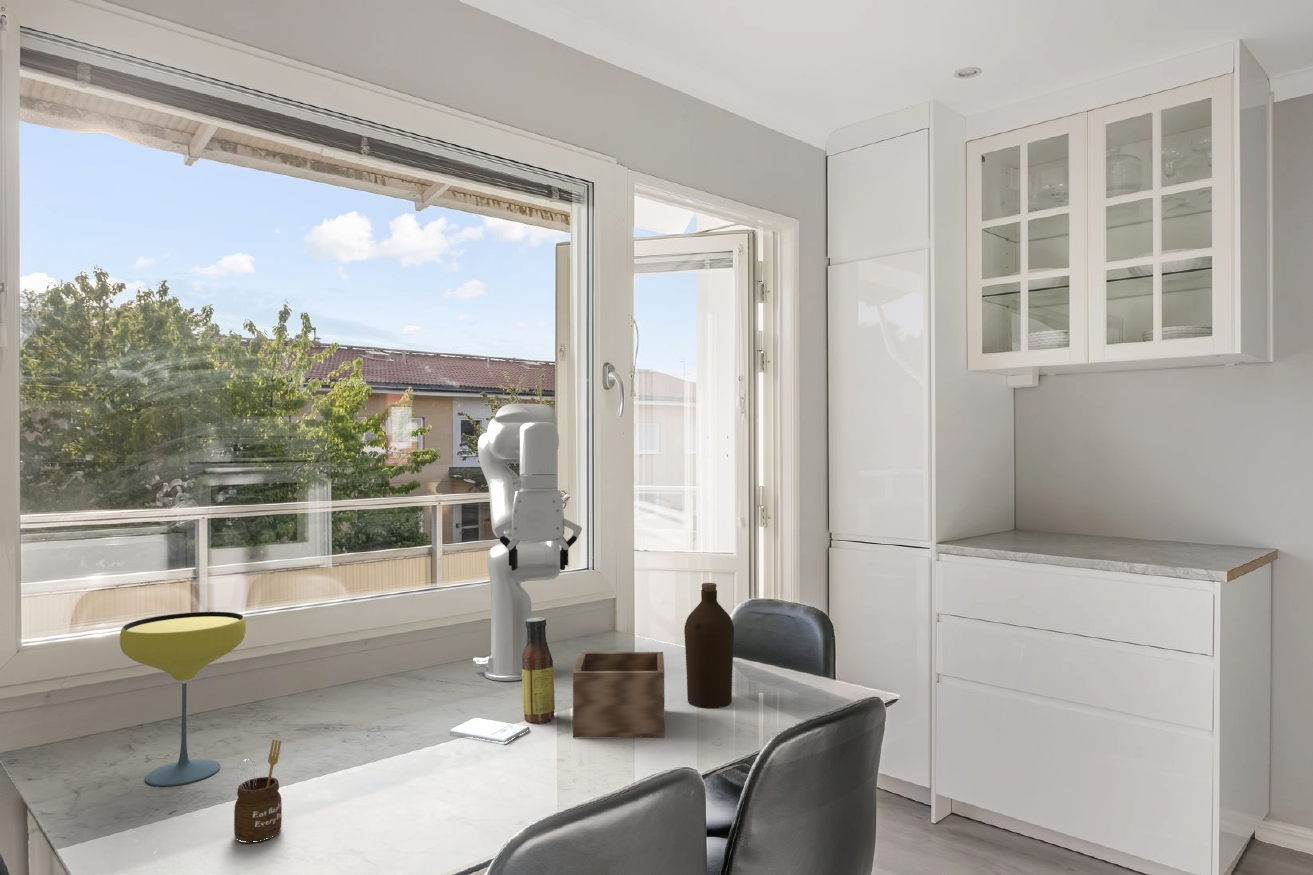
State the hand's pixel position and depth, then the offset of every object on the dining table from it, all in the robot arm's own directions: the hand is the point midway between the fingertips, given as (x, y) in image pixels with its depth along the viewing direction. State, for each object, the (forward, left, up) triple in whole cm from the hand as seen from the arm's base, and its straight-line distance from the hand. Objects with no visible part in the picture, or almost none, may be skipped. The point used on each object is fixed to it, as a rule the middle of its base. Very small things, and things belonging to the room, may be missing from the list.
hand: (538, 569), depth 163 cm
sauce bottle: (0, 0, -30) cm, 30 cm away
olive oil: (+35, +11, -30) cm, 47 cm away
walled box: (+16, -3, -30) cm, 34 cm away
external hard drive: (-8, -8, -31) cm, 33 cm away
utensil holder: (-32, -49, -30) cm, 66 cm away
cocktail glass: (-55, -27, -30) cm, 68 cm away
